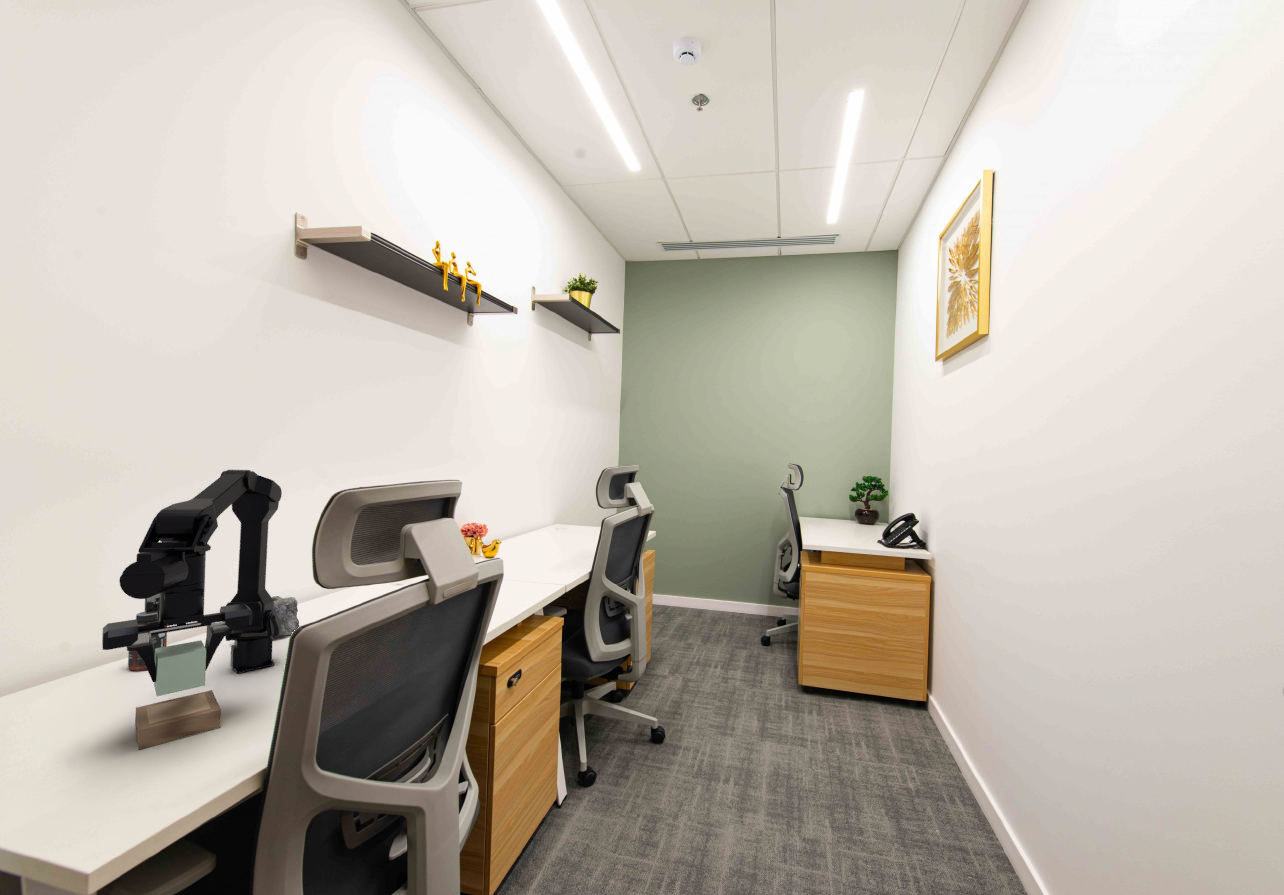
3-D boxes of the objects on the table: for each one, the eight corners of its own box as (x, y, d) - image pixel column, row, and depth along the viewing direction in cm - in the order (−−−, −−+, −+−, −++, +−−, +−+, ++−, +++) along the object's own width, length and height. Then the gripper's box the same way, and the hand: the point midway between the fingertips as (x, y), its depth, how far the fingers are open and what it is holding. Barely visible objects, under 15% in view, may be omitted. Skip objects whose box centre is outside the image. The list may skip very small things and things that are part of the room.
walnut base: (211, 706, 97) (211, 689, 97) (220, 727, 90) (220, 708, 90) (135, 725, 90) (135, 706, 90) (138, 749, 83) (139, 729, 83)
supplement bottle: (172, 663, 115) (173, 610, 115) (136, 673, 109) (138, 618, 110) (157, 658, 117) (159, 606, 118) (121, 668, 112) (123, 614, 112)
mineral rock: (229, 648, 125) (231, 605, 125) (240, 633, 134) (241, 593, 134) (295, 641, 130) (296, 599, 130) (301, 627, 140) (302, 589, 140)
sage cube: (200, 674, 94) (201, 640, 94) (205, 685, 90) (206, 649, 90) (154, 684, 90) (155, 648, 90) (156, 696, 86) (158, 658, 86)
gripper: (242, 566, 102) (239, 648, 102) (103, 582, 89) (100, 676, 89) (254, 577, 94) (251, 666, 94) (104, 596, 81) (100, 699, 81)
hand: (179, 675), depth 90 cm, fingers closed on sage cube, 6 cm apart
